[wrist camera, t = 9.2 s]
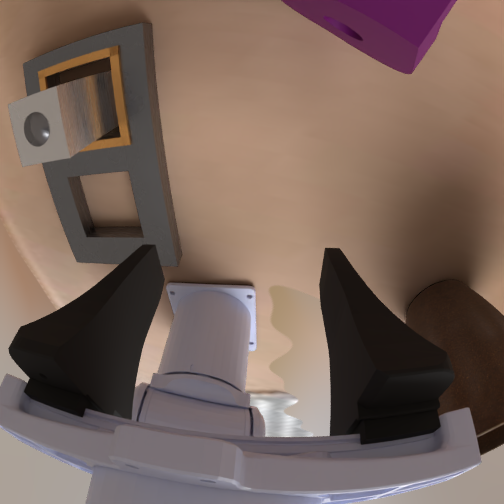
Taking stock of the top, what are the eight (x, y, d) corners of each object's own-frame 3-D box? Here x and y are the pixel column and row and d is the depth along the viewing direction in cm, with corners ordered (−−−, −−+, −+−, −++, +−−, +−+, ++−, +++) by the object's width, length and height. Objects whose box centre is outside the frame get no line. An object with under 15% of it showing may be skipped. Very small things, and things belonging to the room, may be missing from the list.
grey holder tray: (182, 254, 25) (177, 268, 24) (84, 252, 26) (76, 263, 24) (151, 23, 14) (141, 22, 13) (35, 60, 15) (21, 64, 13)
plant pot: (514, 245, 22) (590, 375, 9) (466, 339, 31) (500, 449, 18) (390, 250, 23) (452, 439, 11) (361, 353, 32) (378, 486, 20)
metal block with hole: (121, 123, 18) (69, 158, 13) (76, 131, 19) (21, 167, 13) (114, 69, 16) (55, 86, 11) (68, 81, 16) (7, 105, 11)
